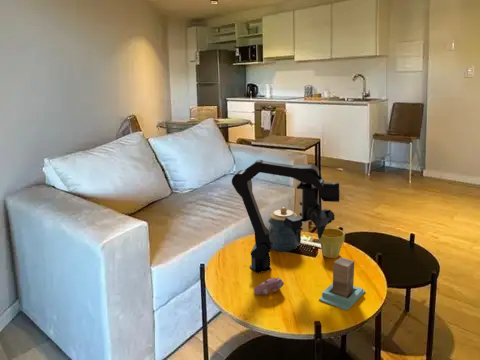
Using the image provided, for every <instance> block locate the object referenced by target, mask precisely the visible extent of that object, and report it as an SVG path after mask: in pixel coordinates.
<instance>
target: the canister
mask: <svg viewBox="0 0 480 360" xmlns="http://www.w3.org/2000/svg"><path fill="white" fill-rule="evenodd" d="M291 216H295V217H297V218H298V215H297V213H296V212H294V211H292V210H290V209H287V207H284V206H282V207H281V208H280V209H276V210H274V211H273V212H271V213H270V217H269V218H268V223H269V225H268V227H267V229H268V230H269V229H272V233H273V235H274V237H275V239H274V243H273V246H272V249H271V250H274V251H276V252H282V253H283V252H284V253H286V252H291V250H293V249H295V248H296V247H297V246H298V247H299V245H300V244H299V243H298V242H297V240H296V238H295V236H294V233H293V231H292V230H291V228H289V227H287V226H286V225H284V220H285V218H287V217H291ZM298 247H297V248H298ZM295 250H296V249H295ZM293 251H294V250H293Z"/></svg>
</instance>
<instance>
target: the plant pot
mask: <svg viewBox="0 0 480 360" xmlns="http://www.w3.org/2000/svg"><path fill="white" fill-rule="evenodd" d="M345 238H346V233H345V232H344V230H341V229H339V228H334V227H325V229H324V232H323V234H322V236H321V238H318V241H319V243H320V248H321V254H322V256H323V257H326V258H327V259H328V258H329V259H336V258H338V257H339V255H340V252H341V250H342V249H341V248H342V245H343V244H344V242H345V240H346V239H345Z"/></svg>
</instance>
